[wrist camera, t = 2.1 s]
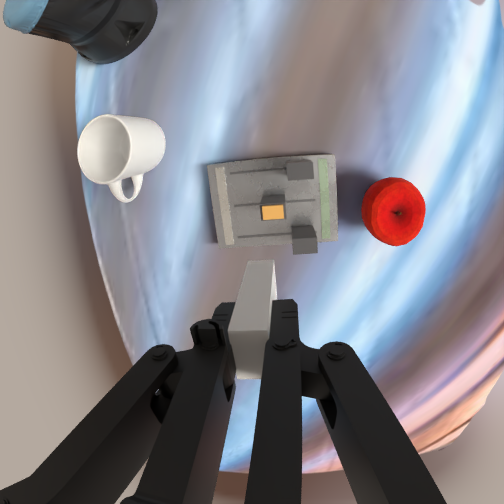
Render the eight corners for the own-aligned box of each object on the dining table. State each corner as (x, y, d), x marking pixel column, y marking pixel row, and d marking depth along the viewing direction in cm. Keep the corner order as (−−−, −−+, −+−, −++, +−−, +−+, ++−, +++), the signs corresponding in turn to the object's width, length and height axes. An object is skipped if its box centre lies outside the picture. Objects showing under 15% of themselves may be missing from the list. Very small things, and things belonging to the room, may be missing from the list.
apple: (414, 214, 37) (438, 230, 30) (368, 241, 40) (384, 262, 33) (392, 162, 35) (415, 167, 28) (342, 189, 37) (356, 200, 30)
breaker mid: (262, 196, 37) (259, 205, 32) (285, 194, 36) (285, 203, 31) (263, 211, 38) (260, 221, 33) (286, 209, 37) (286, 220, 32)
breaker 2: (291, 226, 38) (292, 238, 33) (313, 225, 38) (317, 237, 33) (292, 240, 39) (293, 254, 34) (313, 239, 38) (317, 252, 34)
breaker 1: (285, 160, 35) (286, 163, 30) (308, 159, 34) (312, 161, 30) (287, 175, 35) (287, 180, 31) (310, 174, 35) (314, 179, 30)
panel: (210, 164, 38) (206, 165, 36) (331, 154, 36) (334, 154, 34) (221, 243, 42) (218, 248, 40) (335, 236, 40) (338, 241, 38)
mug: (123, 195, 41) (83, 213, 31) (118, 123, 37) (75, 122, 27) (170, 192, 40) (137, 209, 30) (166, 114, 36) (130, 107, 26)
